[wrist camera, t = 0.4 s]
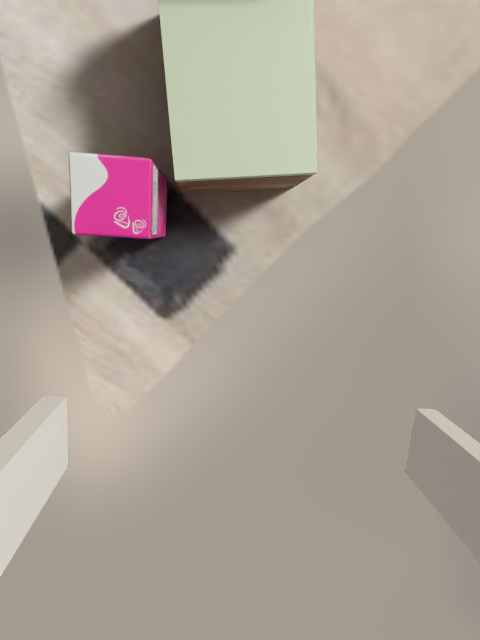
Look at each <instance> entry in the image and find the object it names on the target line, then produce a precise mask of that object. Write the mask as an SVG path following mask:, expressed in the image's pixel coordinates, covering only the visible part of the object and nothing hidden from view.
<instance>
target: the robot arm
mask: <svg viewBox="0 0 480 640" xmlns="http://www.w3.org/2000/svg"><path fill="white" fill-rule="evenodd" d="M67 467H68V446H67V401H66V397H61V396H44V397H43V398H41V399H40V401H39V402H37V403H36V404H35V405H34V406H33V407H32V408H31V409H30V410H29V411H28V412H27V413H26V414H25V415H24V416H23V417H22V418H21V419H20V420H19V421H18V422H17V423H16V424H15V425H14V426H13V427H12V428H11V429H10V430H9V431H8V432H7V433H6V434H5V435H4V436H2V437H1V438H0V576H1V575H2V573H3V571H4V570H5V568H6V566H7V565H8V563H9V562H10V560H11V558H12V557H13V555H14V553H15V552H16V550H17V549H18V547H19V545H20V544H21V542H22V540H23V539H24V537H25V535H26V533H27V532H28V531H29V529H30V527H31V526H32V524H33V522H34V521H35V519H36V517H37V516H38V514H39V513H40V511H41V509H42V508H43V506H44V504H45V503H46V501H47V499H48V498H49V496H50V495H51V493H52V491H53V490H54V488H55V486H56V484H57V483H58V481H59V480H60V478H61V476H62V475H63V473H64V472H65V470H66V468H67ZM405 473H406V474H407V475H408V476H409V478H410V479H411V480H412V481H413V482H414V484H415V485H416V486H417V487H418V488H419V490H420V491H421V492H422V493H423V494H424V495H425V497H426V498H427V499H428V500H429V502H430V503H431V504H432V505H433V507H434V508H435V509H436V510H437V511H438V512H439V514H440V515H441V516H442V517H443V519H444V520H445V521H446V522H447V523H448V525H449V526H450V527H451V528H452V530H453V531H454V532H455V533H456V534H457V536H458V537H459V538H460V539H461V540H462V542H463V543H464V544H465V545H466V546H467V548H468V549H469V550H470V551H471V552H472V554H473V555H474V556H475V557H476V559H477V560H478V561H479V562H480V444H479V443H478V442H477V441H475V440H474V439H473V438H472V437H470V436H469V435H468V434H467V433H465V432H464V431H463V430H461V429H460V428H459V427H457V426H456V425H455V424H453V423H452V422H451V421H450V420H448V419H447V418H446V417H444V416H443V415H442V414H440V413H439V412H438V411H437V410H435V409H416V413H415V418H414V424H413V429H412V435H411V441H410V446H409V452H408V457H407V463H406V469H405Z"/></svg>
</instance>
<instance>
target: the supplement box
mask: <svg viewBox="0 0 480 640" xmlns="http://www.w3.org/2000/svg"><path fill="white" fill-rule="evenodd" d="M69 172H70V193H71V216H72V234H75V235H88V236H103V237H120V238H140V239H151V238H159V237H165V236H166V214H167V180H166V178H165V177H164V176H163V174H162V173H161V172H160V170H159V169H158V168H157V167H156V165H155V164H154V162H153V161H152V160H151V159H149V158H142V157H131V156H120V155H106V154H91V153H78V152H69Z"/></svg>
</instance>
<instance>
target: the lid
mask: <svg viewBox="0 0 480 640" xmlns="http://www.w3.org/2000/svg"><path fill="white" fill-rule="evenodd" d="M158 3H159V14H160V25H161V36H162V47H163V58H164V68H165V79H166V90H167V101H168V112H169V123H170V133H171V144H172V155H173V166H174V177H175V181H176V182H186V181H204V180H223V179H241V178H260V177H278V176H296V175H314V174H316V173H317V138H316V89H315V40H314V0H158Z"/></svg>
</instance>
